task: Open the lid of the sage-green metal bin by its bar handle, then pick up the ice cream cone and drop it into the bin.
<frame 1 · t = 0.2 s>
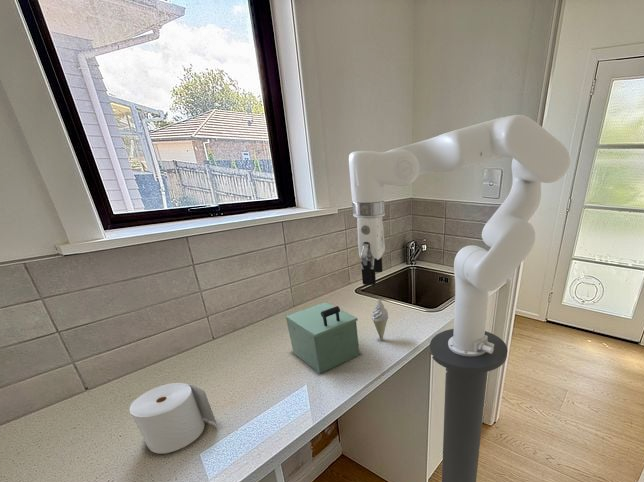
hand: (373, 277, 87), 25 cm above the countertop, tool pointing down, fingers open, 9 cm apart
bin: (326, 353, 102), on the countertop
bin lid: (320, 311, 95), point 14 cm above the countertop, hinge at 0.0°
toilet tissue: (181, 433, 74), on the countertop
ice cream cone: (381, 340, 108), on the countertop
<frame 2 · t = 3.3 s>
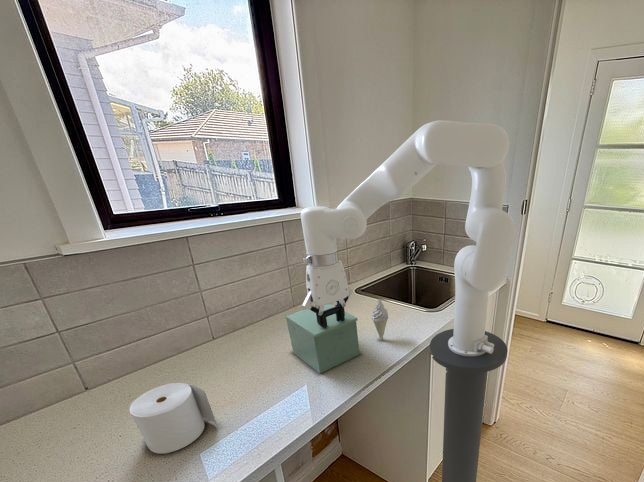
hand: (331, 322, 92), 13 cm above the countertop, tool pointing down, fingers closed on bin lid, 5 cm apart
bin lid: (320, 311, 95), point 14 cm above the countertop, hinge at 0.0°, touching gripper
everything else where it was.
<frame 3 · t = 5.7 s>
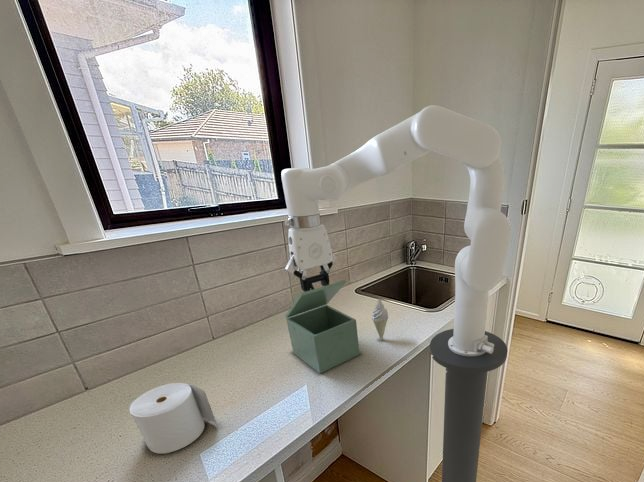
hand: (316, 288, 92), 21 cm above the countertop, tool pointing down, fingers closed on bin lid, 5 cm apart
bin lid: (311, 292, 95), point 19 cm above the countertop, hinge at 40.1°, touching gripper
everything else where it was.
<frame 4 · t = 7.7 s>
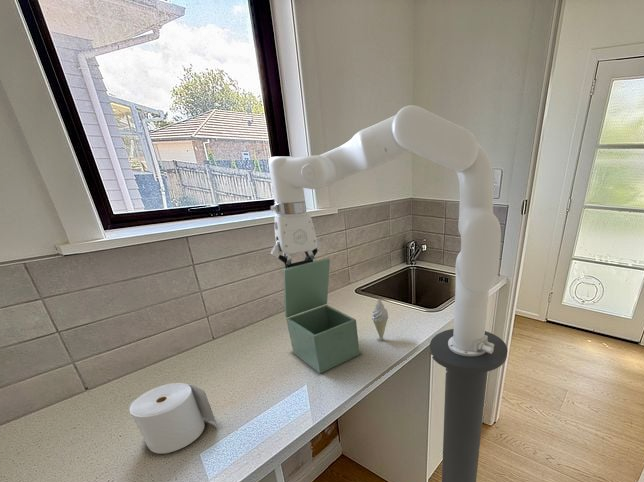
hand: (300, 273, 96), 24 cm above the countertop, tool pointing down, fingers closed on bin lid, 5 cm apart
bin lid: (303, 284, 97), point 21 cm above the countertop, hinge at 71.1°, touching gripper
everything else where it was.
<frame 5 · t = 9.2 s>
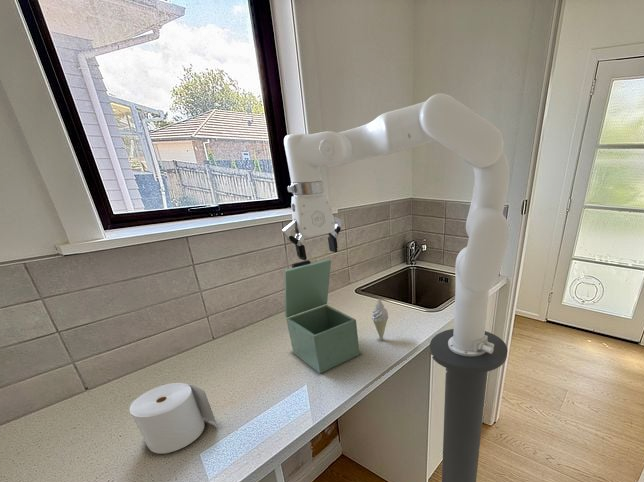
hand: (318, 255, 93), 29 cm above the countertop, tool pointing down, fingers open, 9 cm apart
bin lid: (303, 284, 97), point 21 cm above the countertop, hinge at 69.2°
everything else where it was.
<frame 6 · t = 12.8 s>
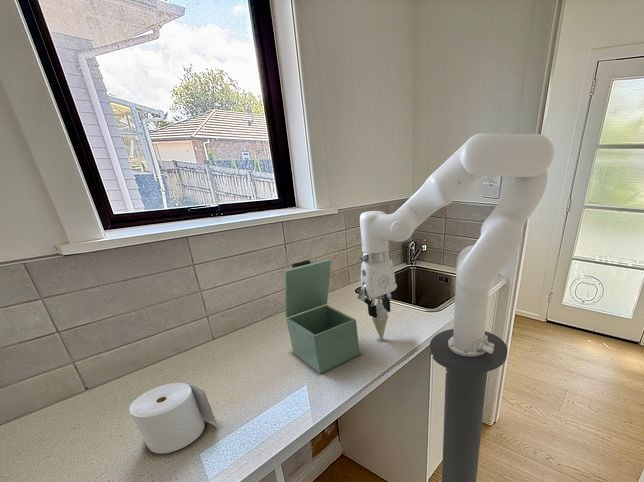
hand: (379, 312, 104), 10 cm above the countertop, tool pointing down, fingers closed on ice cream cone, 4 cm apart
ice cream cone: (381, 340, 108), on the countertop, touching gripper
everything else where it was.
when the fingers open (19 cm above the countertop, at t = 18.4 s): ice cream cone drops 8 cm, resting on bin.
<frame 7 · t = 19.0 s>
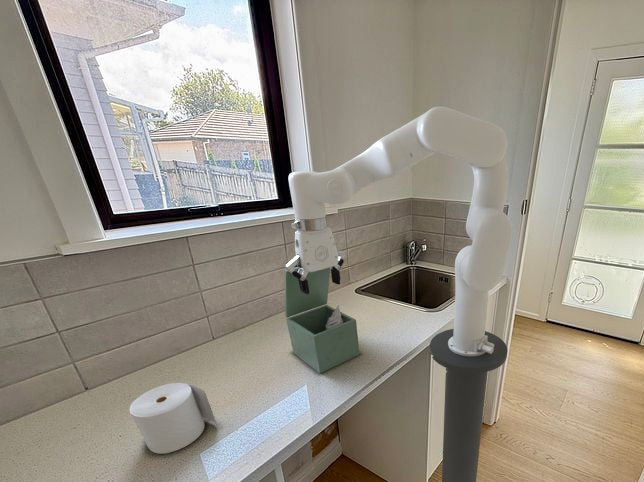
hand: (321, 287, 92), 21 cm above the countertop, tool pointing down, fingers open, 9 cm apart
ice cream cone: (329, 352, 101), point 1 cm above the countertop, touching bin
everything else where it was.
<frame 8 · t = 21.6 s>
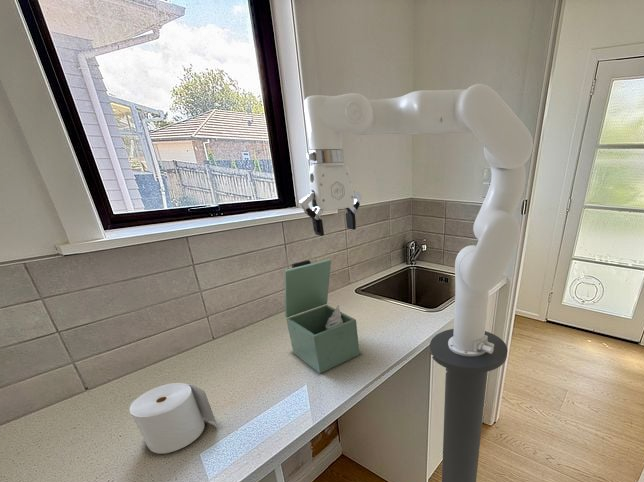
hand: (336, 231, 87), 36 cm above the countertop, tool pointing down, fingers open, 9 cm apart
nothing on the countertop moved.
at the end: bin lid at +69° (first picture: +0°); ice cream cone inside the target area in the bin (1.3 cm from its centre), point 0.7 cm above the bin's base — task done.
